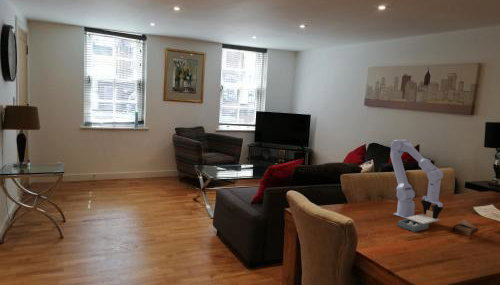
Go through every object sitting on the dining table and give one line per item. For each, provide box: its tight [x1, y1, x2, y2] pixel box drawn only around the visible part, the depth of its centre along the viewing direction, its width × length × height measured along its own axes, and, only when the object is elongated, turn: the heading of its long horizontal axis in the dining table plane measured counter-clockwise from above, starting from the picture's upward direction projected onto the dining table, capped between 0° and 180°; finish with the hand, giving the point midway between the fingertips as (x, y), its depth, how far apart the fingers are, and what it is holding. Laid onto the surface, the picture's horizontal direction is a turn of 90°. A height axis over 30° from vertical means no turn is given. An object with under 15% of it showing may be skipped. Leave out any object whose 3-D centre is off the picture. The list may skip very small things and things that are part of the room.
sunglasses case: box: [451, 218, 479, 237], centre depth 188 cm, size 18×7×7 cm, turn 136°
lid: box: [405, 209, 440, 224], centre depth 191 cm, size 15×10×5 cm, turn 122°
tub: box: [397, 218, 430, 233], centre depth 187 cm, size 13×9×3 cm
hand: (430, 216), depth 195 cm, fingers open, 7 cm apart
